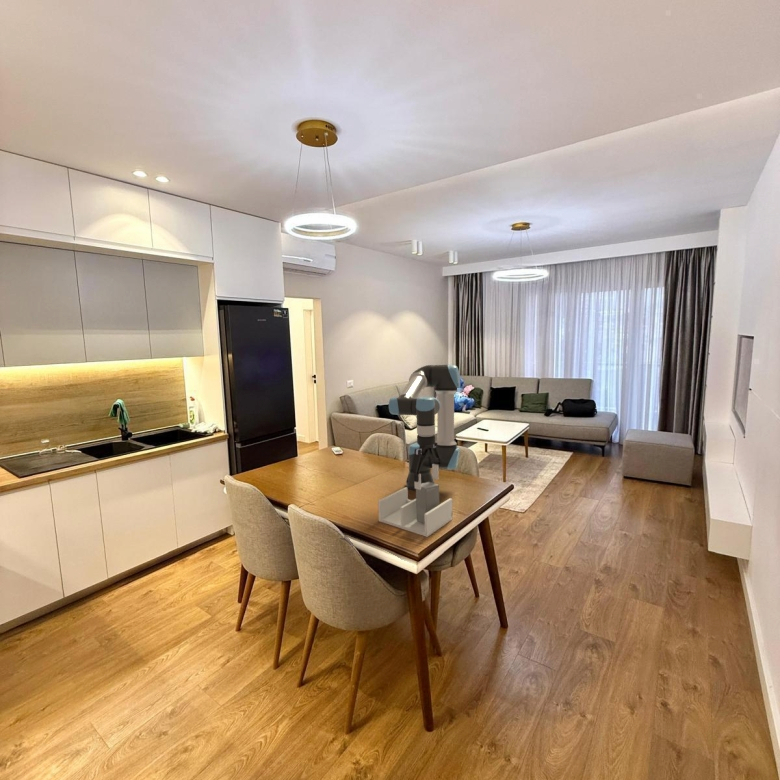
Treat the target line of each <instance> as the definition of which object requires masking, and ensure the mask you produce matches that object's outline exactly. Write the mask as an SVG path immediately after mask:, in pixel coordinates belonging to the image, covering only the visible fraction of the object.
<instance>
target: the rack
mask: <svg viewBox="0 0 780 780" xmlns="http://www.w3.org/2000/svg"><path fill="white" fill-rule="evenodd" d="M408 495H409V488H407V487H406V486H405V487H403V488H401V489H399V490H397V491H395V492H393V493H390V494H388V495H387V496H385V497H382V498H380V499H379V500H377V501H378V502H377V503H378V504H377V505H378V522H380V523H384V524H387V525H390V526H393V527H395V528H399V529H402V530H405V531H408V532H411V533H414V534H417V535H420V536H424V537H426V538H428V537H430V536H431V535H432V534H434V533H435V532H437V531H438V530H439V529H441V528H442V527H444V526H445V525H446V524H447V523H449V522H451V521H452V520H453V498H451V497H450V498H447V500H444V501H443V502H441V503H439V505H438V506H437V507H435V508H433V509H432V510H430V511H429V512H427V513H425V514H424V517H425V524H423V523H420V522H418V521H417V511H416V498H414V499H409V496H408Z"/></svg>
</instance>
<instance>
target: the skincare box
mask: <svg viewBox="0 0 780 780" xmlns="http://www.w3.org/2000/svg"><path fill="white" fill-rule="evenodd" d="M415 499H416V511H417V521H418V522H420V523H423V524H425V517H424V514H425V513H427V512H429V511H430V510H432V509H433V508H435V507H437V506H438V505H440V484H437V483H435V482H434V483H431V482H426V483H422V484H421V489H420V490H419V489H416V490H415Z"/></svg>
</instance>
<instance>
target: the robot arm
mask: <svg viewBox="0 0 780 780" xmlns="http://www.w3.org/2000/svg"><path fill="white" fill-rule="evenodd" d="M460 374H461V373H460V370H459V368H458V366H457V365H455V364H428V365H423V366H421V367H419V368H417V369H416V370H414V371H413V372H412V373H411V374H410V376H409V378H408V383H407V384H406V386H404V388H403V390H402V391H401V393H400V395H399V396H398V397H391V398H390V399H389V401H388V411H389V413H390V414H391V415H397V416H416V434H417V435H416V441H417V442H415V443H412V444H410V445H409V446H408V475H407V477H406V480H405V487H407V488H408V490H412V491H416V489H419V490H420V489H421V484H422V483H426V482H431V483H435V480H439V478H440V476H439V475H440V474H439V470H440V469H441V470H446V471H447V470H455V469H457V467H458V466H459V465H458V464H459V458H460V455H461V454H460V453H461V448H460V447H459V446H458V443H457V442H456V440H455V439H454V438H455V394H456V393H457V392H458V388H461V376H460ZM425 388H434V392H435V394H437V398H436V397H433V396H420V397H419V395H420V393H421V392H422V390H424V389H425ZM436 414H437V420H436V419H435V418H436ZM436 421H437V425H436ZM436 426H437V430H436ZM436 433H437V435H435V434H436ZM436 437H437V438H436Z"/></svg>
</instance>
